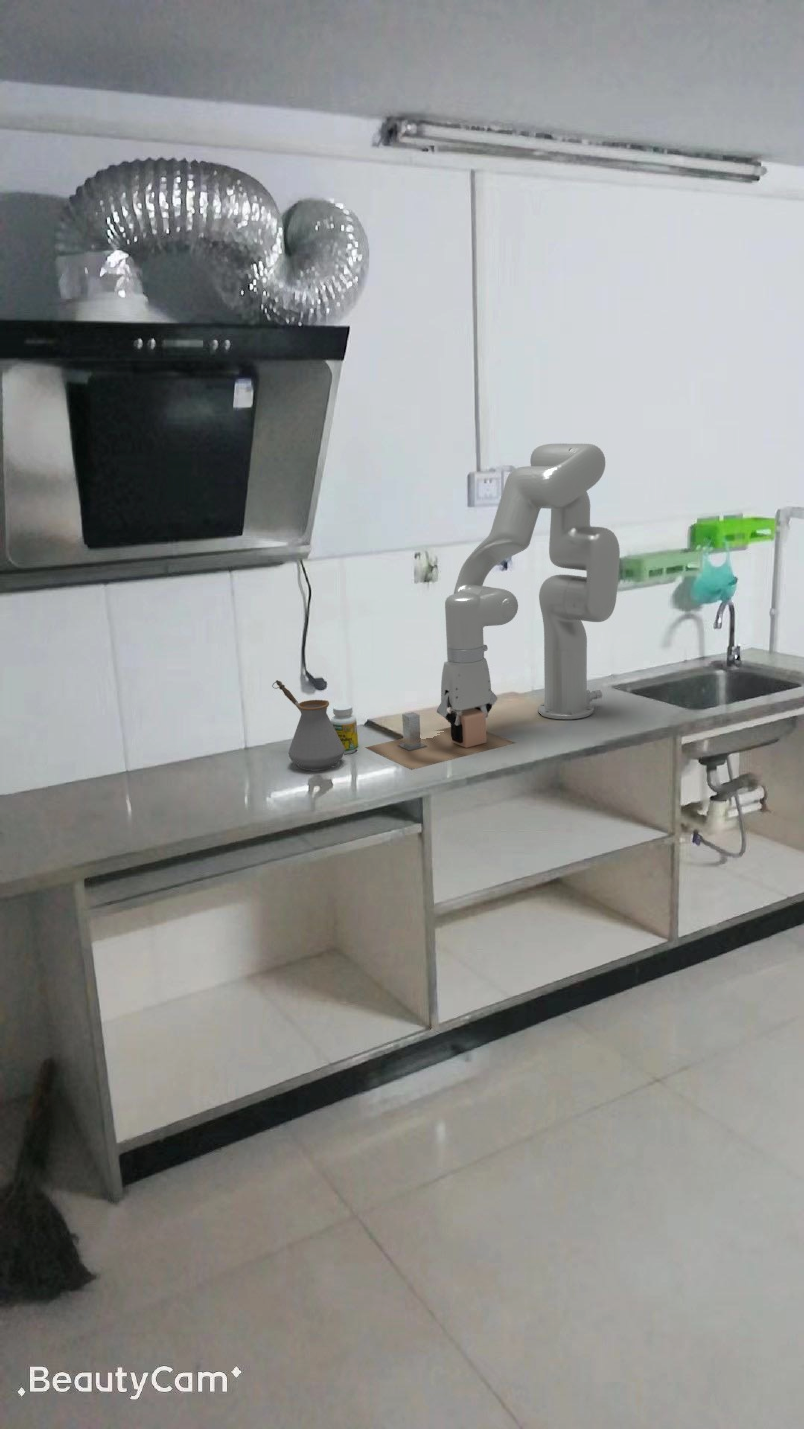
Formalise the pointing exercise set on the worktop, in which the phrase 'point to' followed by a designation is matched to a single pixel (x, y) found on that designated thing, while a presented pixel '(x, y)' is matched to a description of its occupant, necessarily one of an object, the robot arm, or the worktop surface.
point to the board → (434, 749)
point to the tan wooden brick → (473, 727)
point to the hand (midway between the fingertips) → (468, 737)
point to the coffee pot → (313, 735)
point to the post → (411, 732)
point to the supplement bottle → (345, 727)
